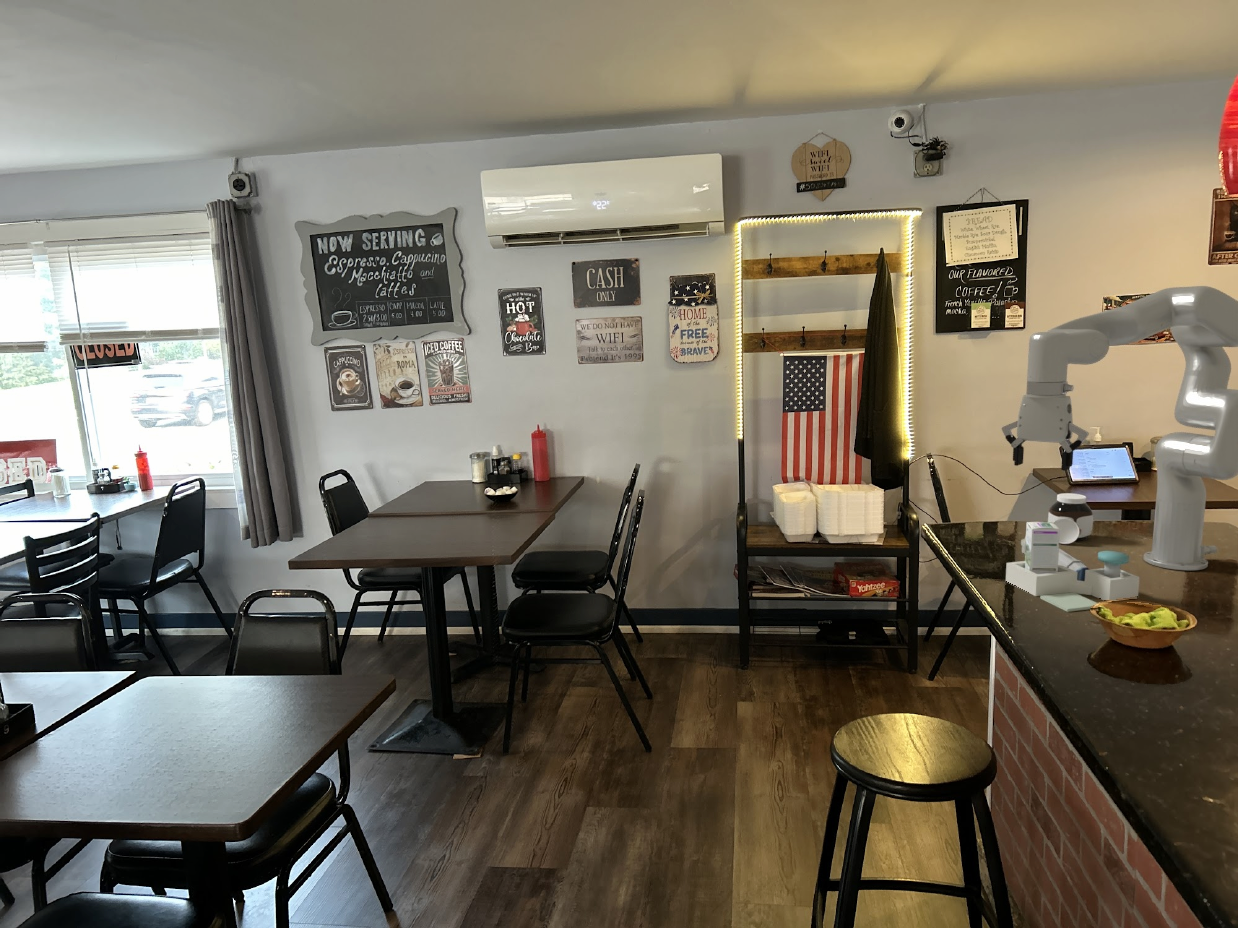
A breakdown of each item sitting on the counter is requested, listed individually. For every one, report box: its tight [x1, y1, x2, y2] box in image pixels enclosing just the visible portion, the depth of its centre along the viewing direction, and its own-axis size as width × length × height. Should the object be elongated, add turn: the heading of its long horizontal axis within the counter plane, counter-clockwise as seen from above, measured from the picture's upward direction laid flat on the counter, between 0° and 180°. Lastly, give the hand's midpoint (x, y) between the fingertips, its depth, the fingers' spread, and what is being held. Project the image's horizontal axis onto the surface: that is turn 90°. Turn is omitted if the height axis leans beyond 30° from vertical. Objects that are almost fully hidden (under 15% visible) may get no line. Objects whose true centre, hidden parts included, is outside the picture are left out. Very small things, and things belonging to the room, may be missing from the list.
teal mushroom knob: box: [1097, 550, 1130, 578], centre depth 166 cm, size 6×6×6 cm
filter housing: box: [1005, 560, 1141, 601], centre depth 171 cm, size 18×18×5 cm
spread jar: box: [1047, 492, 1094, 545], centre depth 207 cm, size 12×11×12 cm
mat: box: [1039, 592, 1098, 613], centre depth 164 cm, size 8×8×1 cm
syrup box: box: [1024, 521, 1060, 574], centre depth 173 cm, size 6×6×14 cm
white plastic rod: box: [1020, 535, 1090, 581], centre depth 188 cm, size 5×7×25 cm
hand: (1041, 467), depth 170 cm, fingers open, 9 cm apart
